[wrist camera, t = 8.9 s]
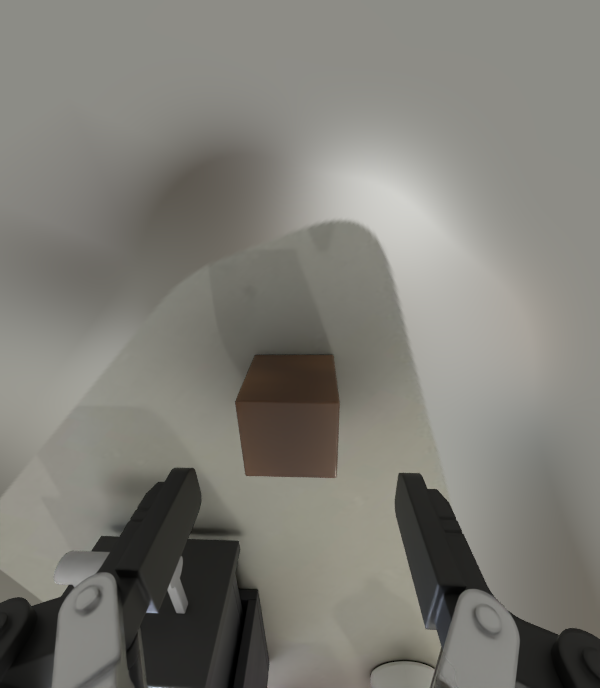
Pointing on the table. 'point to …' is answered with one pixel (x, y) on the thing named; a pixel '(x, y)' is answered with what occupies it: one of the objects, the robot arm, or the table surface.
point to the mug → (402, 675)
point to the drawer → (183, 614)
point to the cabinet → (252, 645)
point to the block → (289, 416)
